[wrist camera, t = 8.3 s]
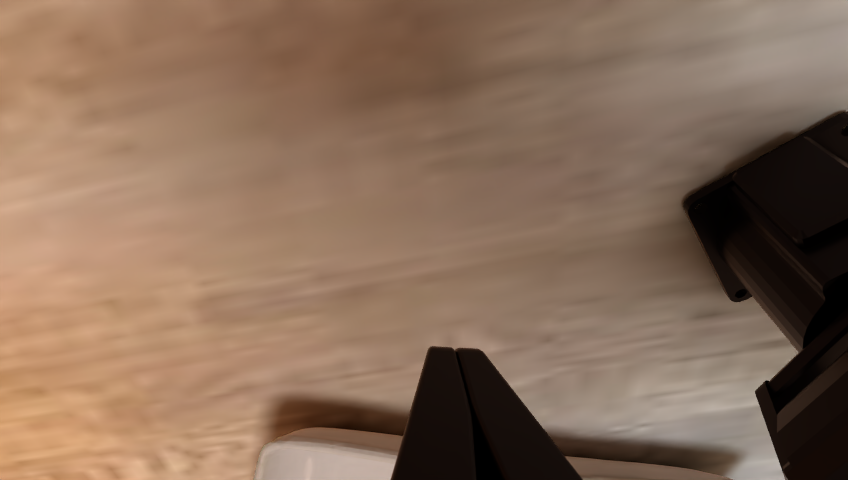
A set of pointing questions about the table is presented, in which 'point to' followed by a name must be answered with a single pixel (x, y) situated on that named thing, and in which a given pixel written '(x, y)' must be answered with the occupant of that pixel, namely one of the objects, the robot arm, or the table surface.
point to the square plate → (376, 455)
